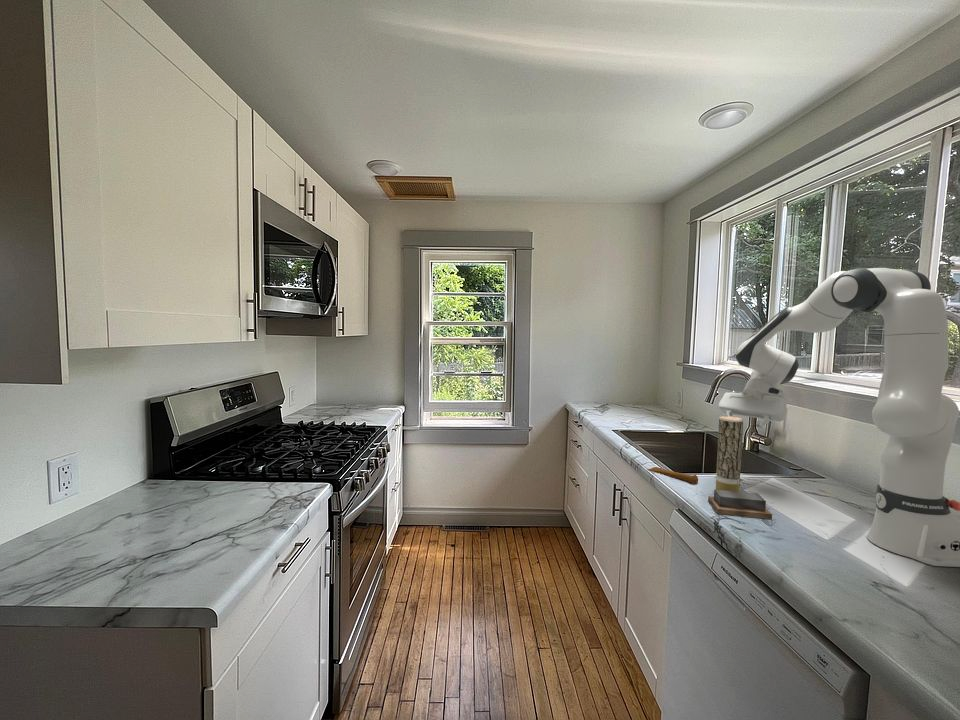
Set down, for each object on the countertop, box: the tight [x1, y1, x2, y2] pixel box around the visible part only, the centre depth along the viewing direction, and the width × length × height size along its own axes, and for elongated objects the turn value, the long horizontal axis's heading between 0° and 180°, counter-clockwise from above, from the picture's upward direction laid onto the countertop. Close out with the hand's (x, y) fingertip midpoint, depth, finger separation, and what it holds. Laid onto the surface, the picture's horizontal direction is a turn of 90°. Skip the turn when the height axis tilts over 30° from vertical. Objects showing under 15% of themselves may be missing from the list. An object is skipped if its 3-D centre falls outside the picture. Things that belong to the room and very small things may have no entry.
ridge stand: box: [707, 488, 773, 520], centre depth 128 cm, size 14×10×4 cm
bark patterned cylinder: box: [715, 416, 744, 492], centre depth 141 cm, size 7×7×25 cm
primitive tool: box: [646, 466, 699, 485], centre depth 159 cm, size 19×6×4 cm, turn 31°
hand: (743, 424), depth 146 cm, fingers open, 8 cm apart
